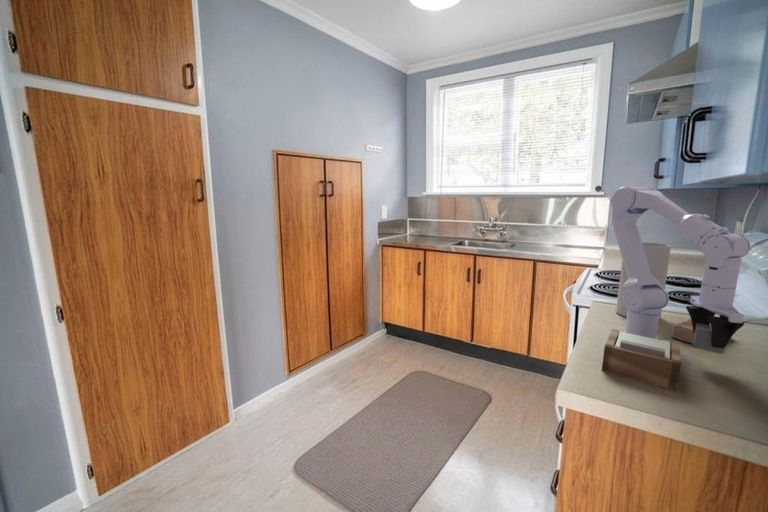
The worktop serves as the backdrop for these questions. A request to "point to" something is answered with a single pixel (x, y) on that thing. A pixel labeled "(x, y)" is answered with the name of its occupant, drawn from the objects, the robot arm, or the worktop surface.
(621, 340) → the trapdoor
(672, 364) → the frame
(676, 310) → the worktop surface
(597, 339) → the worktop surface
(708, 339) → the grey cube
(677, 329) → the brick
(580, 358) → the worktop surface
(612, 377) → the worktop surface
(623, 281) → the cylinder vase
